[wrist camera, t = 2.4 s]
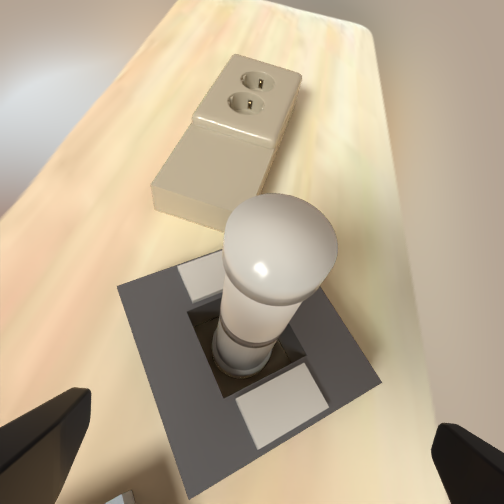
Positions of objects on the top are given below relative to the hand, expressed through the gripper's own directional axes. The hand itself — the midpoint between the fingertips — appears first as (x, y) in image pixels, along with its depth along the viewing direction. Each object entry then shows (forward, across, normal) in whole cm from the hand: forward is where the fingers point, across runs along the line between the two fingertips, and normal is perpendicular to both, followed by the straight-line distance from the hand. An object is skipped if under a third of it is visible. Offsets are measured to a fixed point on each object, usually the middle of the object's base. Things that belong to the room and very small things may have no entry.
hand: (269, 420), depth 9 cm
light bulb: (+12, 0, +5) cm, 13 cm away
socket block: (+12, 0, +5) cm, 13 cm away
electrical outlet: (+25, +2, -8) cm, 26 cm away
